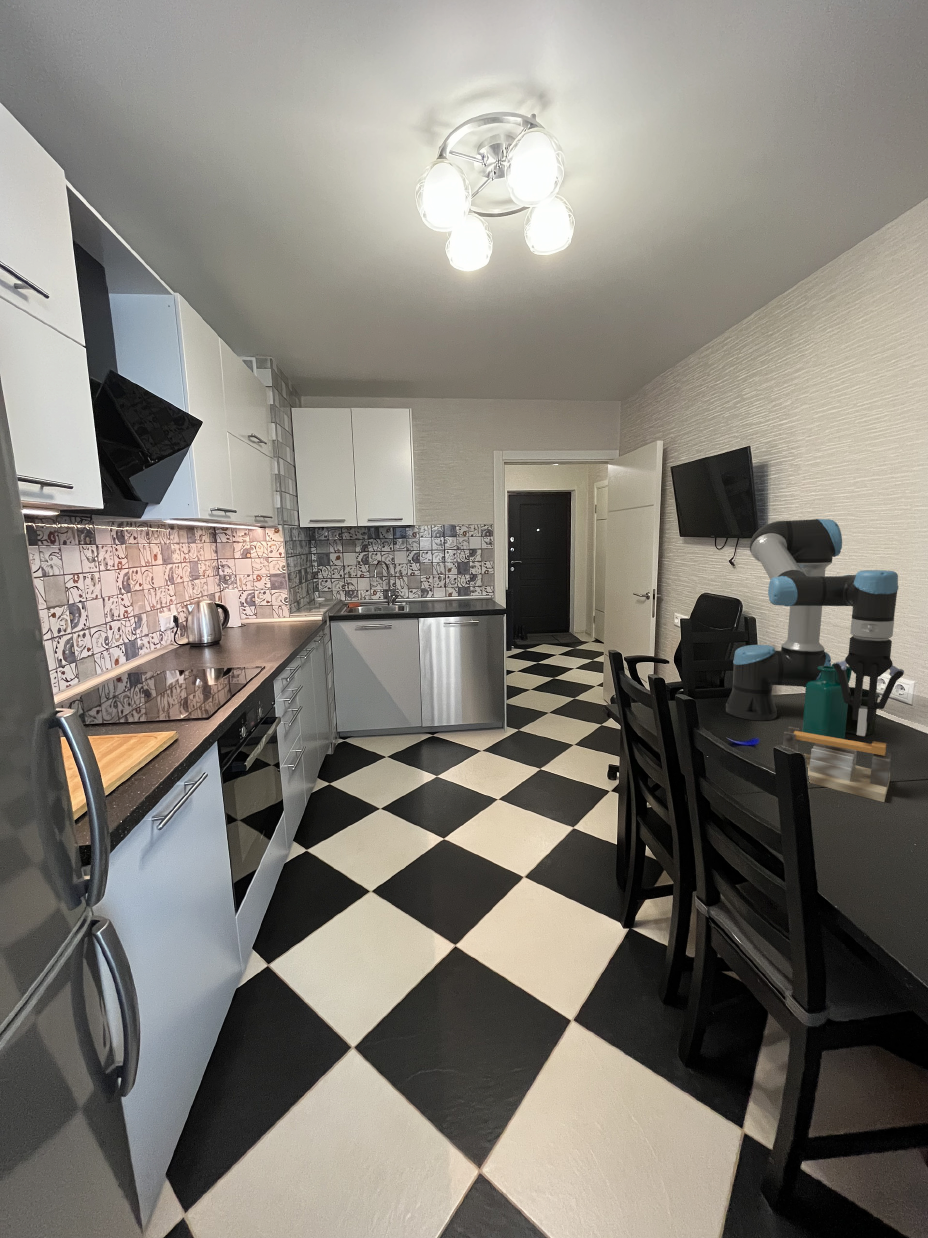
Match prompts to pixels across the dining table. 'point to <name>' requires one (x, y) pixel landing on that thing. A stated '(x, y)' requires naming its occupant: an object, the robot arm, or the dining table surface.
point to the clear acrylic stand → (844, 769)
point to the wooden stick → (843, 743)
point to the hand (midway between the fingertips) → (861, 733)
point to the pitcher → (825, 704)
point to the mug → (852, 724)
